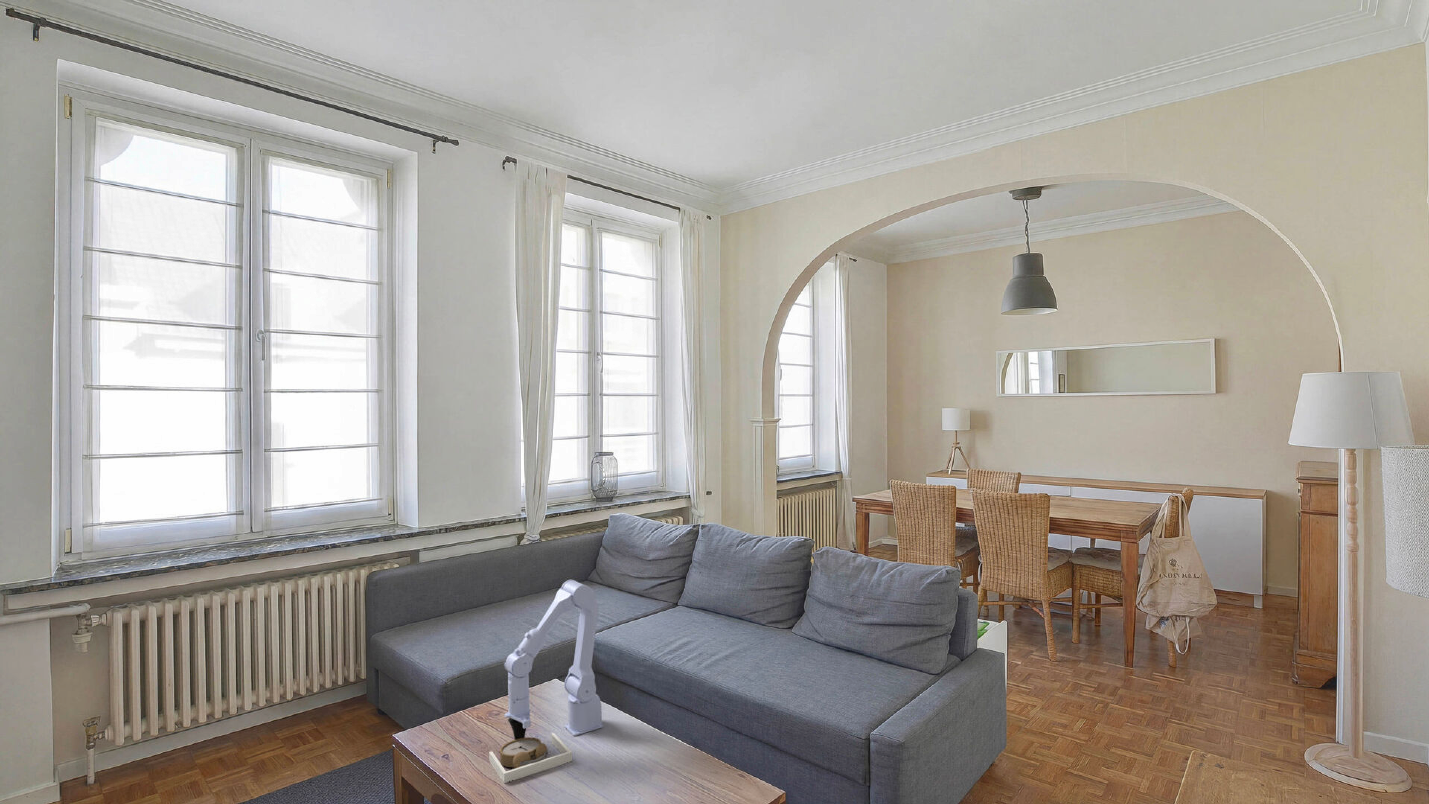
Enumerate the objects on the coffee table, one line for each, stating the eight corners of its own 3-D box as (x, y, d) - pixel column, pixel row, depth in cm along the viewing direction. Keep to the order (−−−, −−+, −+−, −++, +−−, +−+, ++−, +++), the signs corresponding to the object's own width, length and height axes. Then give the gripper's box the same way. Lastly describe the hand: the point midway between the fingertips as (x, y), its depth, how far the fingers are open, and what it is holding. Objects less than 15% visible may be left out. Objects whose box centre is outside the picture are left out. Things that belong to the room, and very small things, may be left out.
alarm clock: (527, 733, 201) (555, 741, 191) (529, 751, 201) (558, 759, 190) (491, 748, 193) (519, 757, 183) (493, 767, 192) (521, 776, 182)
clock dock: (554, 741, 202) (553, 732, 202) (572, 761, 191) (571, 752, 191) (489, 761, 192) (489, 752, 192) (504, 783, 180) (503, 773, 180)
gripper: (497, 690, 202) (498, 736, 203) (512, 709, 190) (513, 758, 190) (521, 684, 206) (522, 729, 206) (537, 702, 194) (538, 750, 194)
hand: (519, 743), depth 199 cm, fingers closed, pressing on alarm clock
